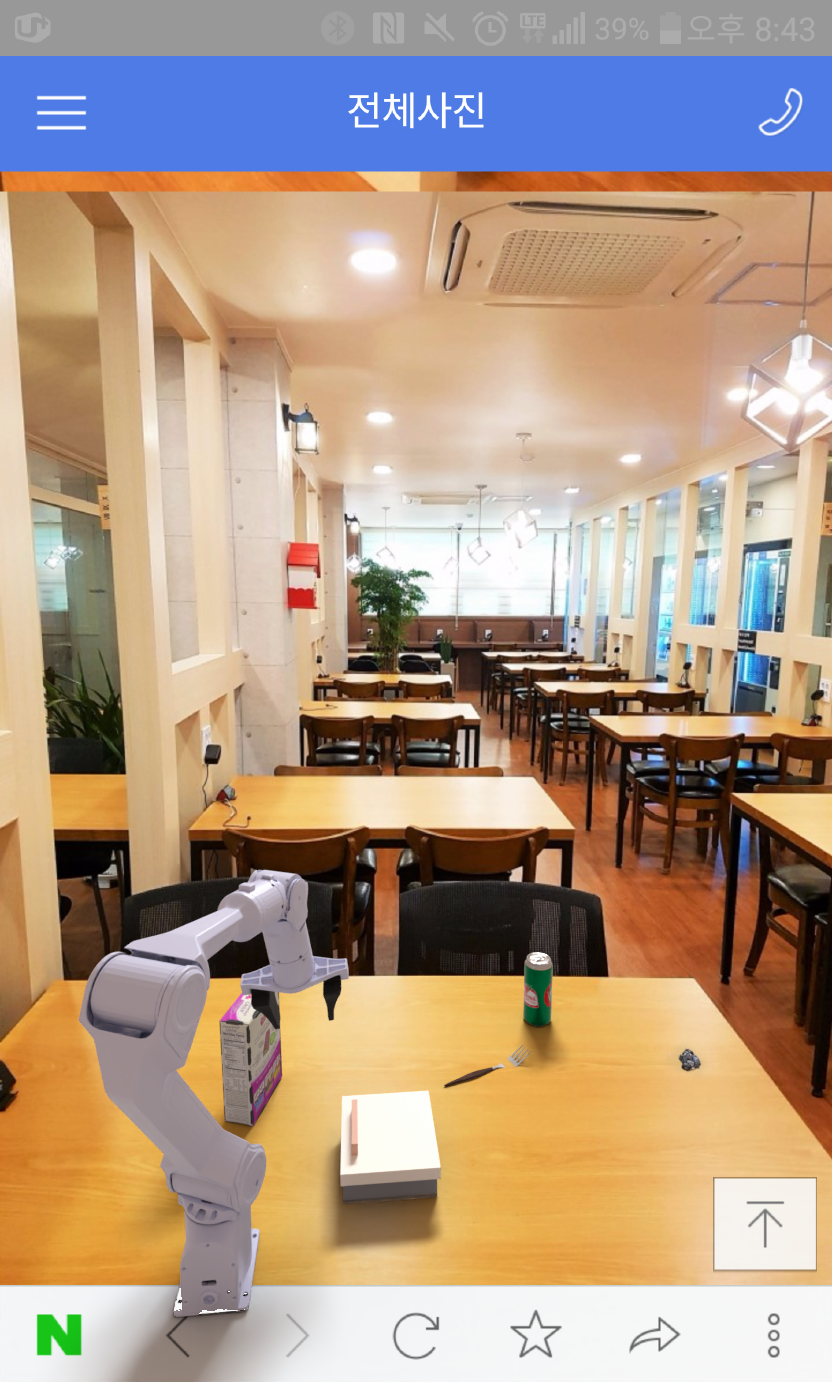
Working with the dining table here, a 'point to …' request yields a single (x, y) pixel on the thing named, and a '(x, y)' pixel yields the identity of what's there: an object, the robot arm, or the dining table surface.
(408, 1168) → the lid
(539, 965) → the soda can
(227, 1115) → the candy bar box
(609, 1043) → the dining table surface
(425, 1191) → the mailer tray
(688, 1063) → the blueberries
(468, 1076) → the fork
